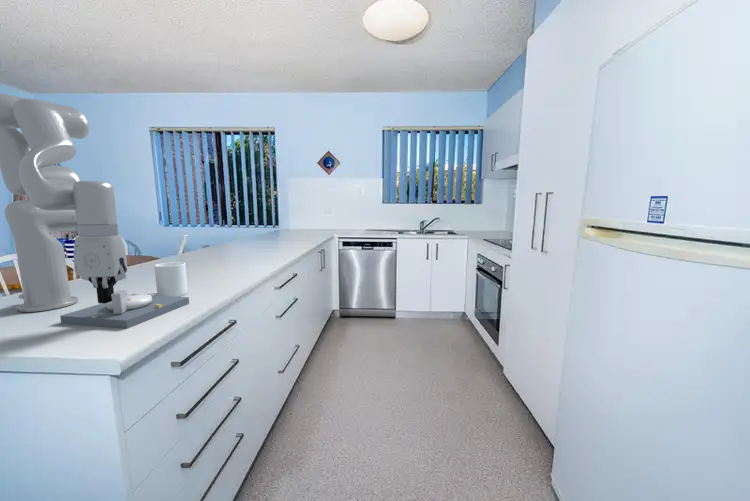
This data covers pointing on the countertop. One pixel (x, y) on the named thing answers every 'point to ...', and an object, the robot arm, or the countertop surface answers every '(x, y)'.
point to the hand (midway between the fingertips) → (106, 301)
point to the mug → (171, 279)
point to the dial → (127, 301)
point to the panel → (124, 313)
